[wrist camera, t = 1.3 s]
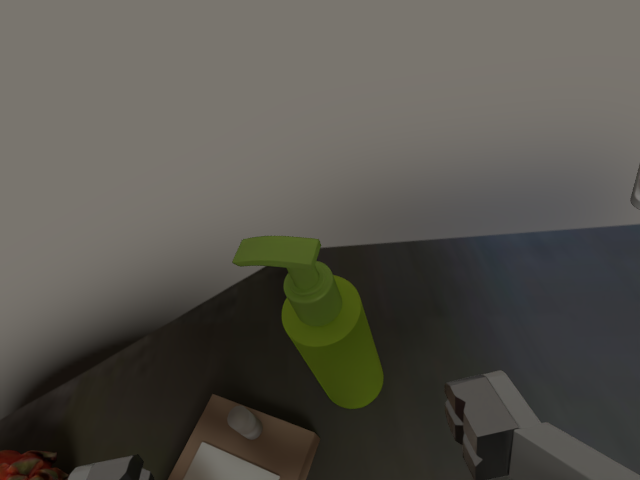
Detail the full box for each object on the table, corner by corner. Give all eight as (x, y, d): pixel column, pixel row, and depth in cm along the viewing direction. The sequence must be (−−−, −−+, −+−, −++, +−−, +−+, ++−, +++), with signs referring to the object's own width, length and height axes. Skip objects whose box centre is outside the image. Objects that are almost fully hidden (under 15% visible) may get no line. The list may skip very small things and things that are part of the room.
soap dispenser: (320, 344, 41) (249, 211, 26) (387, 352, 39) (350, 212, 24) (306, 401, 38) (215, 285, 23) (378, 414, 35) (328, 294, 21)
